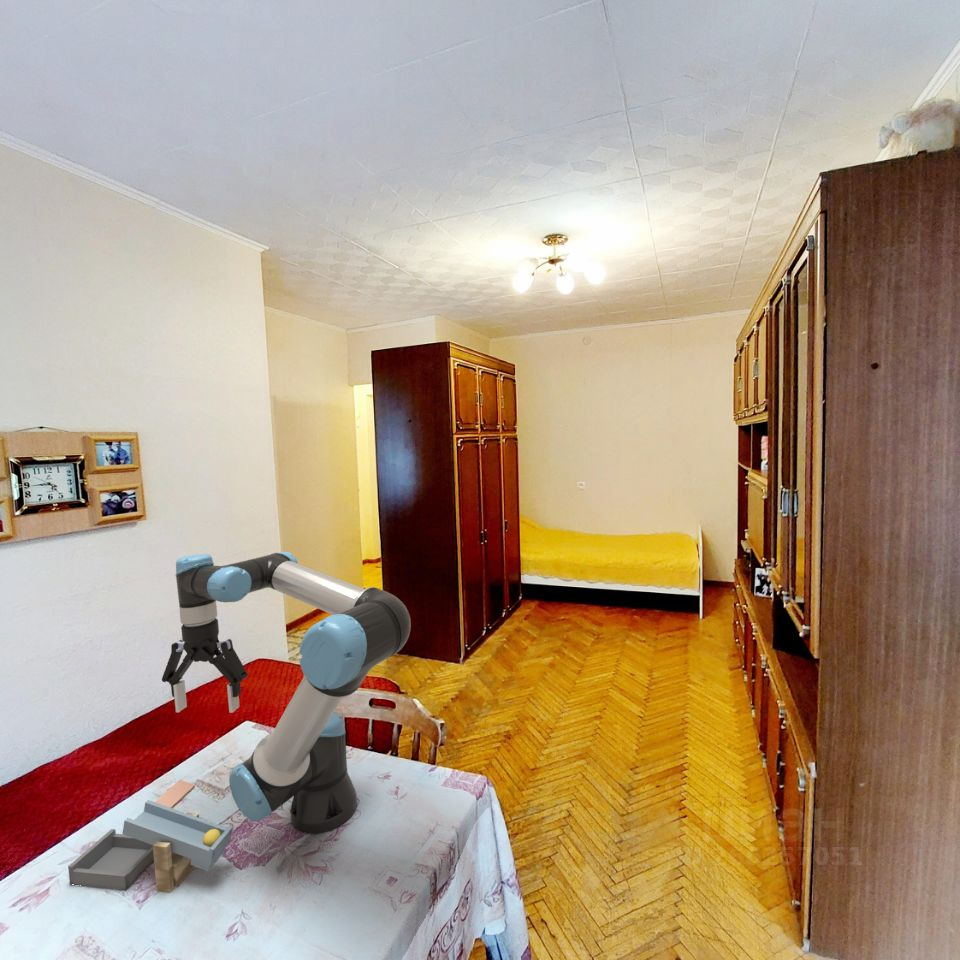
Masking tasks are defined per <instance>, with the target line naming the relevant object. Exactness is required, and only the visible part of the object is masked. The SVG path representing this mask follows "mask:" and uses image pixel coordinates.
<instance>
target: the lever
mask: <svg viewBox="0 0 960 960" xmlns="http://www.w3.org/2000/svg"><path fill="white" fill-rule="evenodd" d="M195 787H196V784H194V783H191V782H188V781H184V780H182V779H179V780H178V781H176V783H174V784H173V785H172V786H170V788H169V789H167V790H166V791H165V792H164V793H163V794H162V795H161V796H160V797H159V798H157V799H156V800H155V801H152V800H150V799H147V800H146V801H145V803H144V808H143V811H142V812H141V813H140V814H139V815H138V816H137V817H135V818H134V819H133V818H129V817H127V818H125V820H124V822H123V828H122V833H121V834H124V835H126V836H129V837H132V838H135V839H137V840H140V841H143V842H146V843H148V844H151V845H154V844H155V843H156V842H165V843H170V846H171V852H173V853H176V854H179V855H181V856H184V857H187V858H190V859H191V865H193V866H195V868H199V869H202V870H204V871H207V872H210V870H211V869H212V868H213V866H214V865H215V864H216V862H217V861H218V860H219V859H220V858H221V857H222V855H224V853H225V851H226V847H228V845H229V844H230V843H231V838H232V833H233V828H234V827H233V826H230V825H229V826H228V827H226V826H224V825H221V824H219V823H215V822H212V821H210V820H207V819H204V818H202V817H200V816H199V817H196V816H193V815H190V814H187V813H188V812H184V811H182V810H177V809H175V807H176V806H177V805H178V804H179V803H181V801H183V800H184V798H186V797H187V796H188V795H189V794H190V793H191V792H192V791H193V790H194V789H195ZM211 829H217V830H219V832H220V834H221V836H220V837H219V838H218V840H217V841H216V842H215V843H214V844H213V845H212V847H208V846H205V845H204V844H203V838H204V836H205V834H206V833H207V832H208V831H209V830H211Z"/></svg>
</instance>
